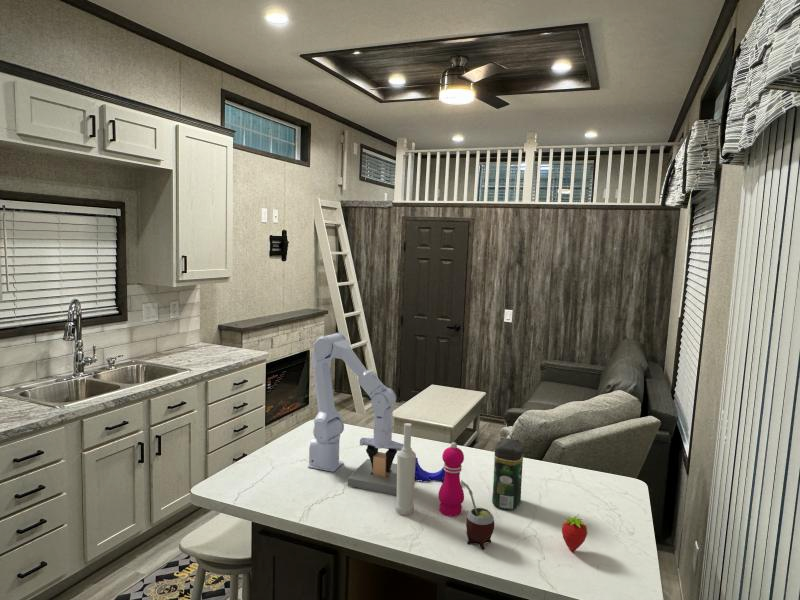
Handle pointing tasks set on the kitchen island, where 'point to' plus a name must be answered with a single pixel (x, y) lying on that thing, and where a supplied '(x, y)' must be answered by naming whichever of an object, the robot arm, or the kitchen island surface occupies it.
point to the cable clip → (425, 476)
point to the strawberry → (574, 533)
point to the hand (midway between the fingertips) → (381, 470)
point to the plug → (380, 464)
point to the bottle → (405, 475)
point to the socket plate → (374, 479)
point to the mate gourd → (479, 524)
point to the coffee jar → (507, 474)
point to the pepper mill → (451, 482)
